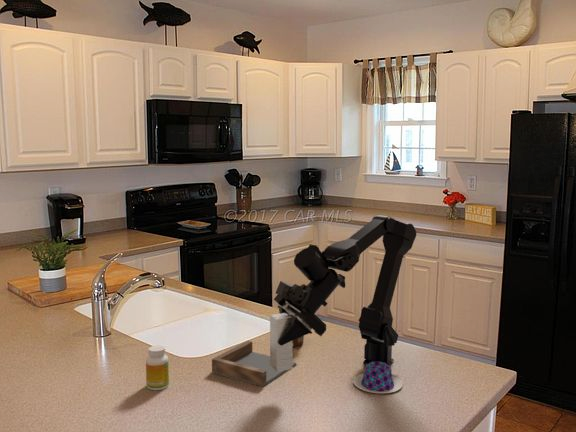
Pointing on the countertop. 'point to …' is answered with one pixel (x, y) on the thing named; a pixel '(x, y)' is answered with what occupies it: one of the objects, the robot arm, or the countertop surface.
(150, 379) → the supplement bottle
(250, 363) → the corner mat
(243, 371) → the corner walls
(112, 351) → the countertop surface
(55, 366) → the countertop surface
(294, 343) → the food container
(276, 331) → the aluminium post
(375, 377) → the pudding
